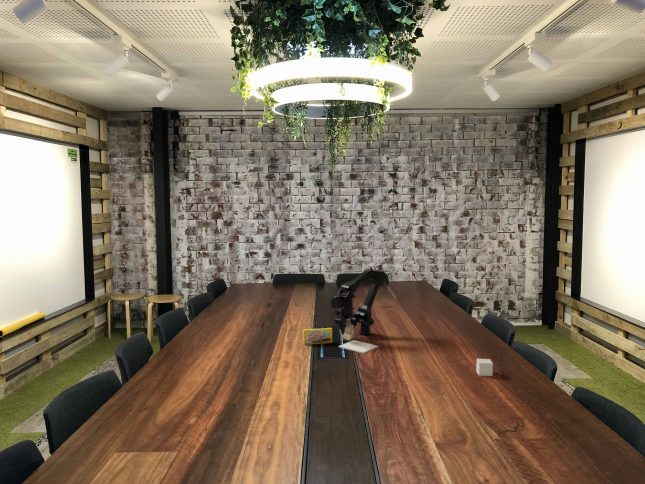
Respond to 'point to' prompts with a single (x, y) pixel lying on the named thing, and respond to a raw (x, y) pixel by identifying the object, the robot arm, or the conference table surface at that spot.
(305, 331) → the candy box
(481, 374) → the white cube
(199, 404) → the conference table surface
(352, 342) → the mat
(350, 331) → the maple block
